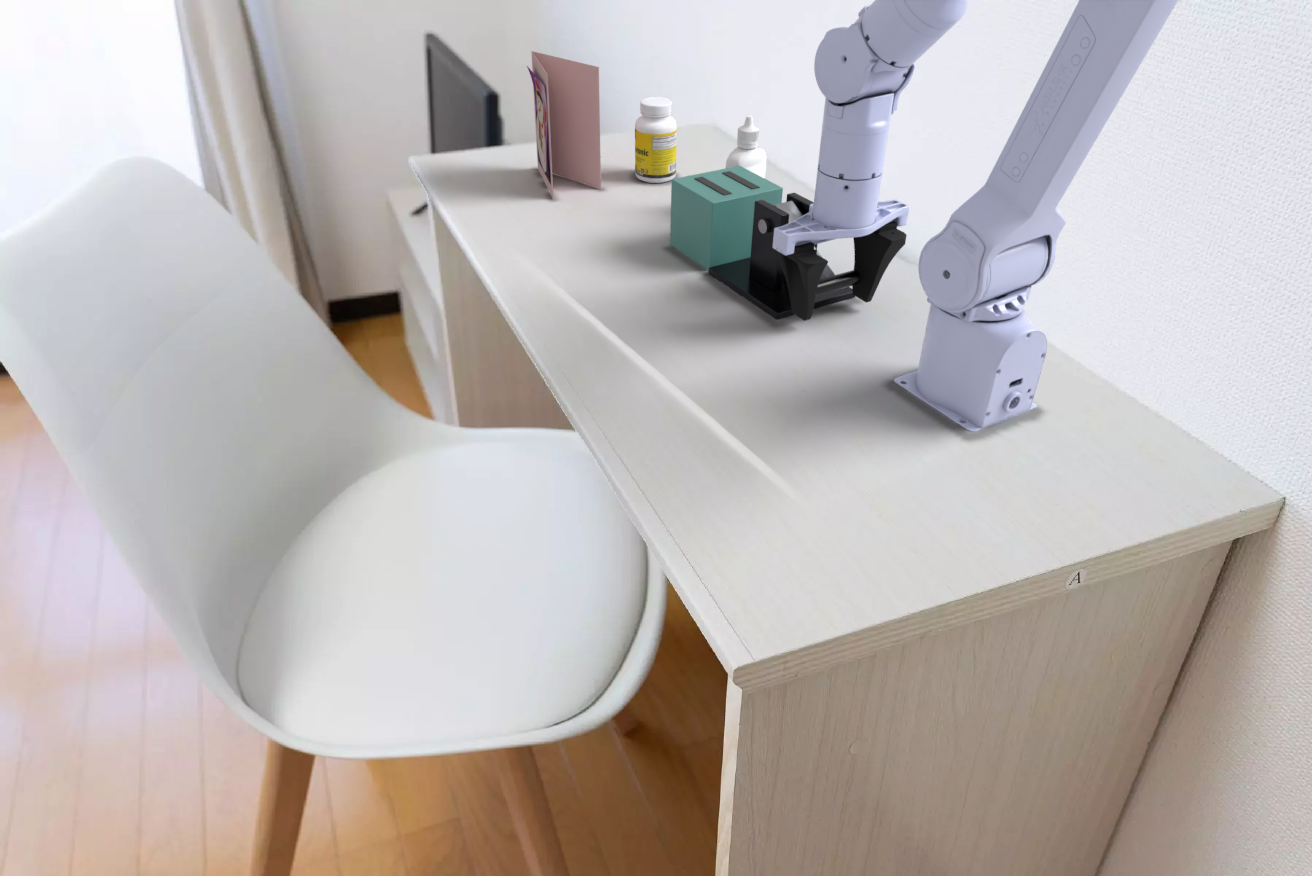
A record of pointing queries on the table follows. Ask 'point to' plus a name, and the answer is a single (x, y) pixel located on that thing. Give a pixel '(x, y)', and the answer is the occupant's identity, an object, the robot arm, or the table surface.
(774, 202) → the toaster
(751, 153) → the eye dropper bottle
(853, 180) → the robot arm
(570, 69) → the greeting card
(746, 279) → the switch bracket
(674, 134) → the supplement bottle
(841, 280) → the lever
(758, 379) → the table surface
